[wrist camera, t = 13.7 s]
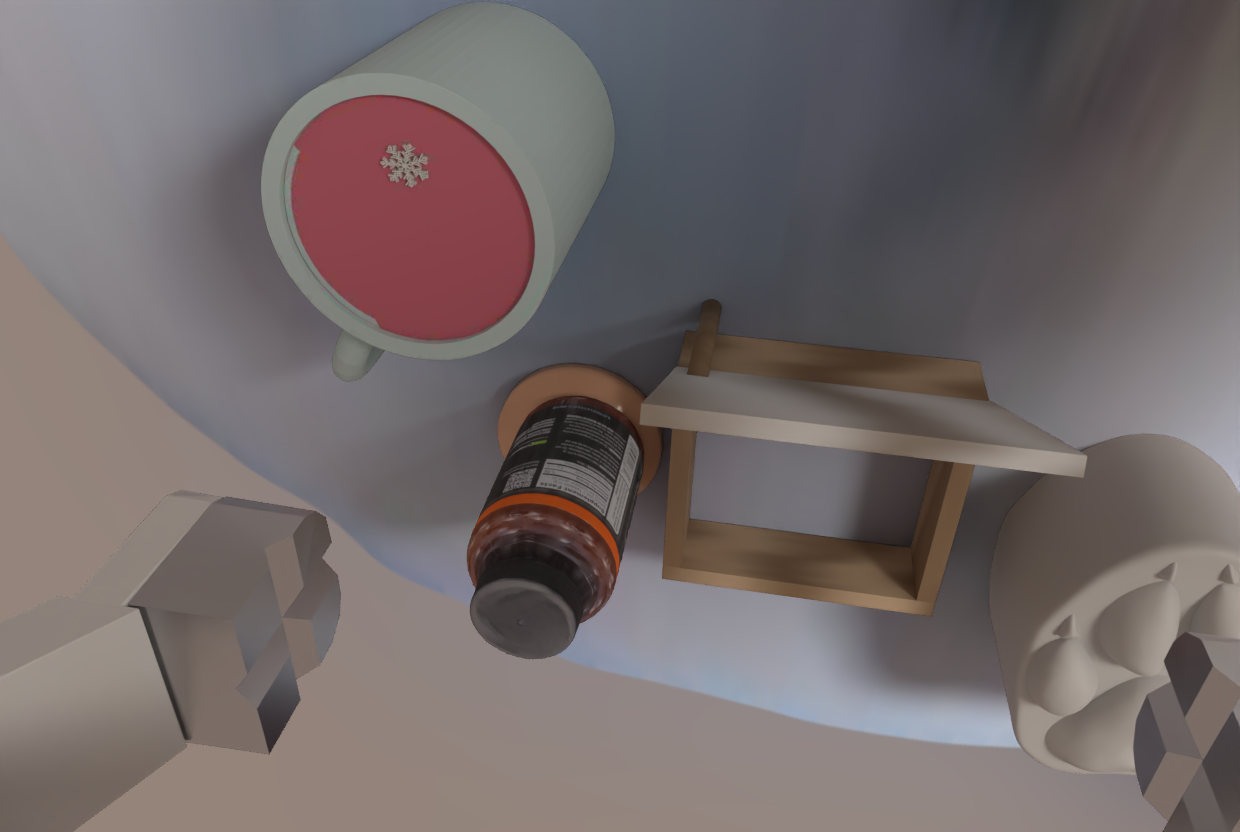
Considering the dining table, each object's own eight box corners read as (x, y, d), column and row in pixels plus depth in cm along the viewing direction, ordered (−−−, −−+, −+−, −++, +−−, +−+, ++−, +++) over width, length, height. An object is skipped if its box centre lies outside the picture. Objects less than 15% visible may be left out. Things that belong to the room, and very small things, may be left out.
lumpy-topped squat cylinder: (976, 646, 48) (1003, 798, 41) (1015, 428, 41) (1056, 566, 34) (1206, 663, 46) (1276, 826, 39) (1289, 438, 39) (1392, 586, 32)
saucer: (667, 373, 42) (664, 382, 42) (658, 508, 46) (656, 518, 46) (498, 354, 43) (493, 363, 43) (505, 488, 47) (501, 498, 47)
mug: (441, -52, 34) (321, 4, 26) (660, 96, 36) (611, 194, 28) (312, 242, 42) (187, 357, 34) (497, 354, 43) (420, 491, 35)
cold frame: (1008, 250, 37) (1089, 461, 25) (924, 563, 46) (957, 820, 34) (693, 222, 38) (640, 408, 27) (671, 529, 47) (624, 764, 36)
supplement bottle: (598, 516, 46) (542, 703, 37) (496, 447, 45) (411, 622, 36) (674, 441, 43) (633, 625, 34) (566, 364, 42) (493, 534, 33)
